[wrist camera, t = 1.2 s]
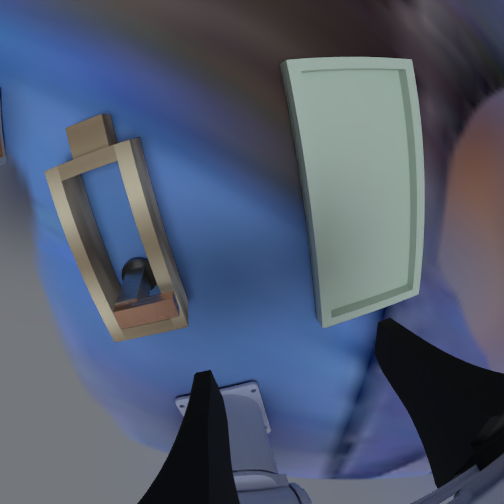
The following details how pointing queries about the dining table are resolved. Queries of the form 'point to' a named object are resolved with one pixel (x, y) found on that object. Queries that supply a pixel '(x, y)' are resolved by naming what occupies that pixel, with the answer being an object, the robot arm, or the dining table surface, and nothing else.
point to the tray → (358, 179)
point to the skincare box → (2, 144)
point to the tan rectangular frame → (86, 231)
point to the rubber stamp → (142, 297)
